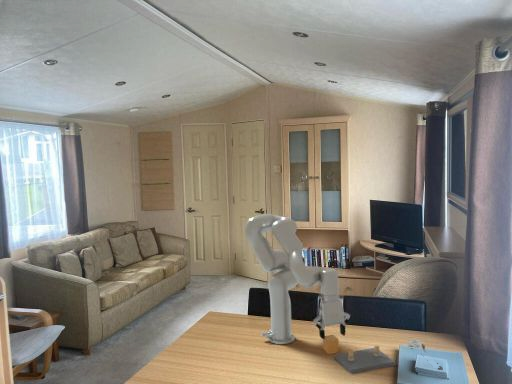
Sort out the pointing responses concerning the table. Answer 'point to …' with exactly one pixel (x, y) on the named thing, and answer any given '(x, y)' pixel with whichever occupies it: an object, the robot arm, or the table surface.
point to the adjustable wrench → (415, 344)
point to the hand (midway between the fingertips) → (332, 336)
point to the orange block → (331, 344)
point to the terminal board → (364, 360)
